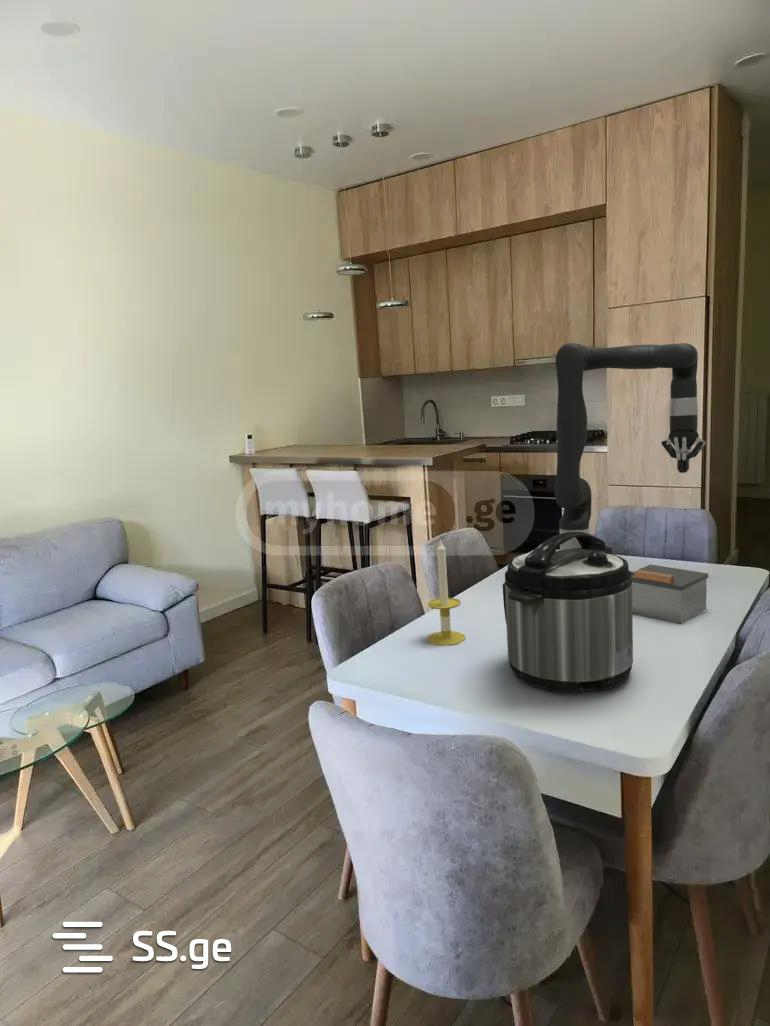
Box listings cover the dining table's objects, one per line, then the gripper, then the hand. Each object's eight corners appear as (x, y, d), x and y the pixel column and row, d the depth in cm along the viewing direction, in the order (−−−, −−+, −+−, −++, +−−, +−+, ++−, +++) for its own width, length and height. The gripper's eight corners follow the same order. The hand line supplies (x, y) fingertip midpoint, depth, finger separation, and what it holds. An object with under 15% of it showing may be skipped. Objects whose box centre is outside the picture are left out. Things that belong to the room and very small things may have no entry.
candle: (449, 648, 169) (443, 544, 164) (419, 640, 176) (412, 540, 171) (473, 636, 176) (468, 536, 171) (443, 629, 183) (437, 532, 178)
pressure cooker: (606, 641, 166) (604, 515, 161) (664, 690, 139) (664, 540, 133) (487, 654, 164) (481, 527, 158) (522, 706, 136) (516, 554, 131)
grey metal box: (624, 611, 186) (624, 580, 185) (650, 599, 195) (650, 569, 194) (681, 623, 174) (681, 590, 173) (706, 610, 183) (706, 578, 181)
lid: (622, 580, 185) (622, 569, 184) (650, 568, 194) (650, 558, 194) (681, 590, 172) (681, 579, 172) (708, 577, 181) (708, 567, 181)
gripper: (655, 415, 199) (655, 473, 202) (700, 413, 189) (699, 475, 192) (668, 413, 203) (668, 470, 206) (712, 412, 193) (711, 471, 196)
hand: (683, 472), depth 199 cm, fingers closed
